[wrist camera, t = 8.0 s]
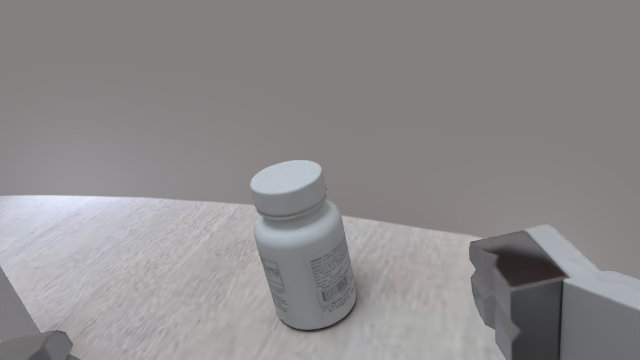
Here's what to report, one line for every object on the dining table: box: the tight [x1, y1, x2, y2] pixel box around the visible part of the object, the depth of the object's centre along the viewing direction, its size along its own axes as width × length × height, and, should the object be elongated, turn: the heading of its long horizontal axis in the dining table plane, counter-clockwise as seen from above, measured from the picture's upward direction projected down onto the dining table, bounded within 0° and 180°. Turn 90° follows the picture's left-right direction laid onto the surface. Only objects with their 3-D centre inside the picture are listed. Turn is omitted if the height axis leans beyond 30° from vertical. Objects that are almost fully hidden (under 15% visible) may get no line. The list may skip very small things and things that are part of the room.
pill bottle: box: [250, 160, 356, 330], centre depth 23 cm, size 4×4×8 cm
